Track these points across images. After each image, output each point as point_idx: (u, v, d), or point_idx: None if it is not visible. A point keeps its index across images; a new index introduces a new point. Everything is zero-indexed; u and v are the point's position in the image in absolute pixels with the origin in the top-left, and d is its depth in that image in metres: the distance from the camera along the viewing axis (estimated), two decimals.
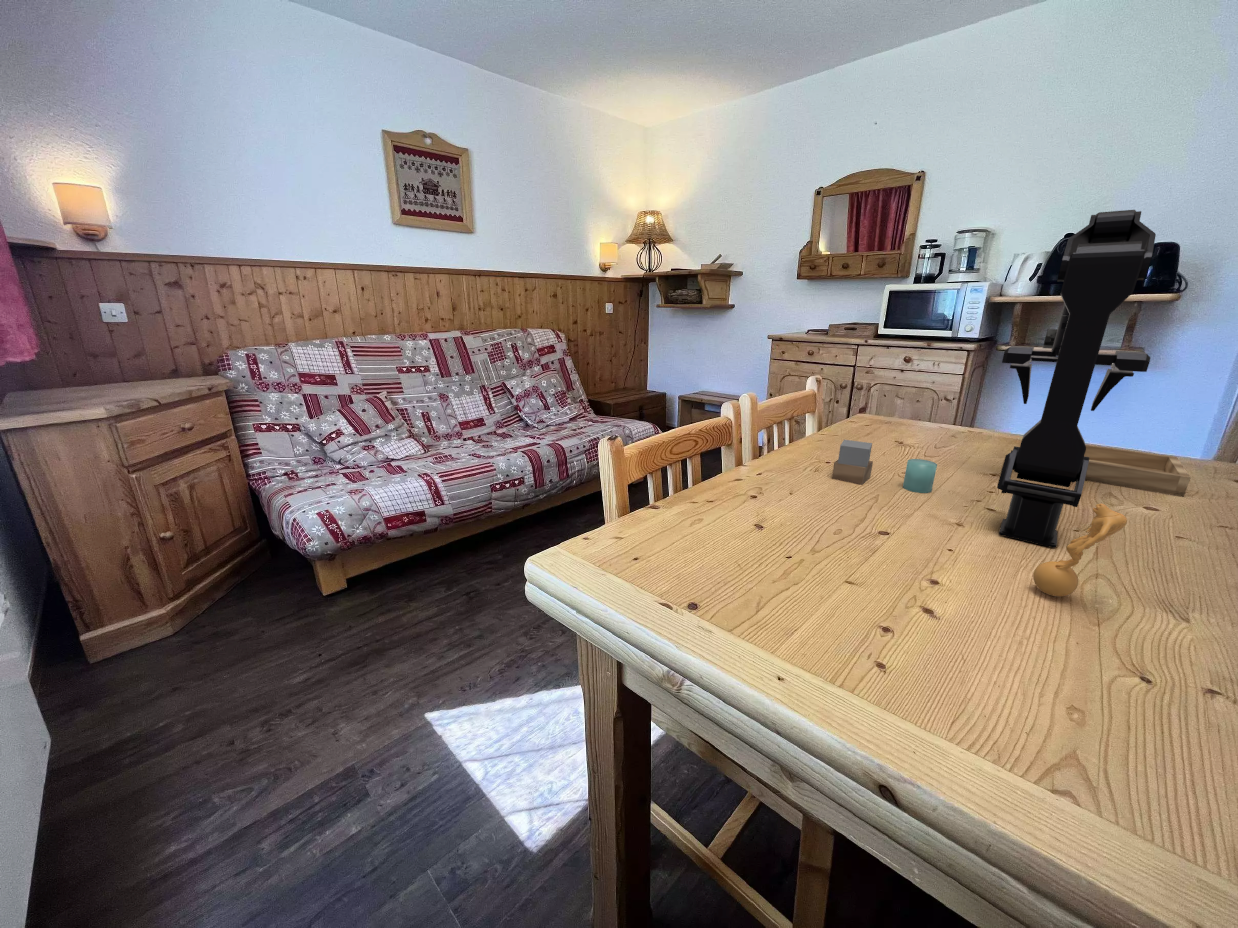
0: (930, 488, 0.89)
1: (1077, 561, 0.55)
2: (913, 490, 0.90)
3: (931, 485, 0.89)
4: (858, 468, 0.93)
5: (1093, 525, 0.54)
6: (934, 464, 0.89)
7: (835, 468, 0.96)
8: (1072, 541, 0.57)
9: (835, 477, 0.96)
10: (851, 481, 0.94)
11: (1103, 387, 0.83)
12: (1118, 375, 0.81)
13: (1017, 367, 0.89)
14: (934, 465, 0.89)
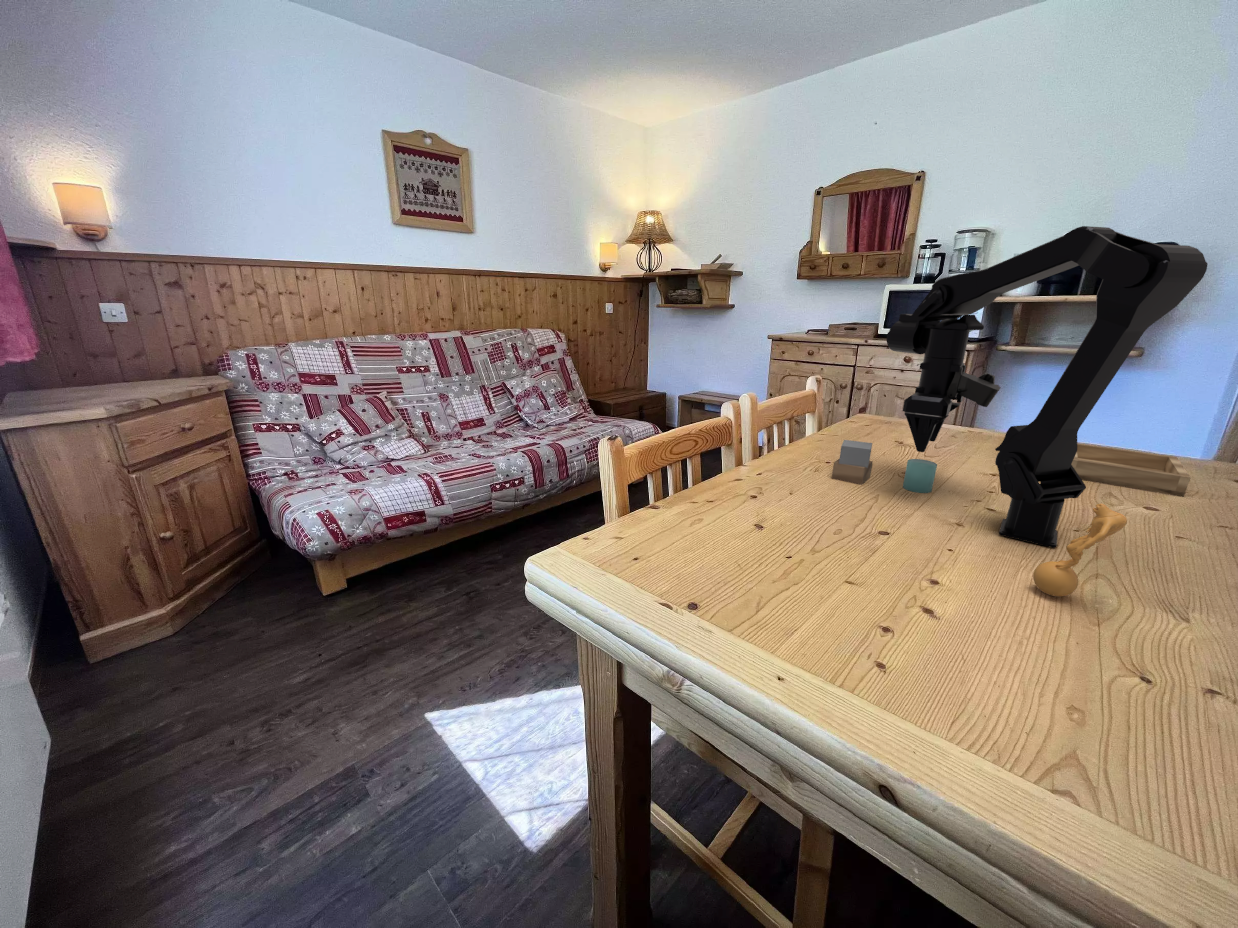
0: (930, 488, 0.89)
1: (1077, 561, 0.55)
2: (913, 490, 0.90)
3: (931, 485, 0.89)
4: (858, 468, 0.93)
5: (1093, 525, 0.54)
6: (934, 464, 0.89)
7: (835, 468, 0.96)
8: (1072, 541, 0.57)
9: (835, 477, 0.96)
10: (851, 481, 0.94)
11: None
12: None
13: None
14: (934, 465, 0.89)
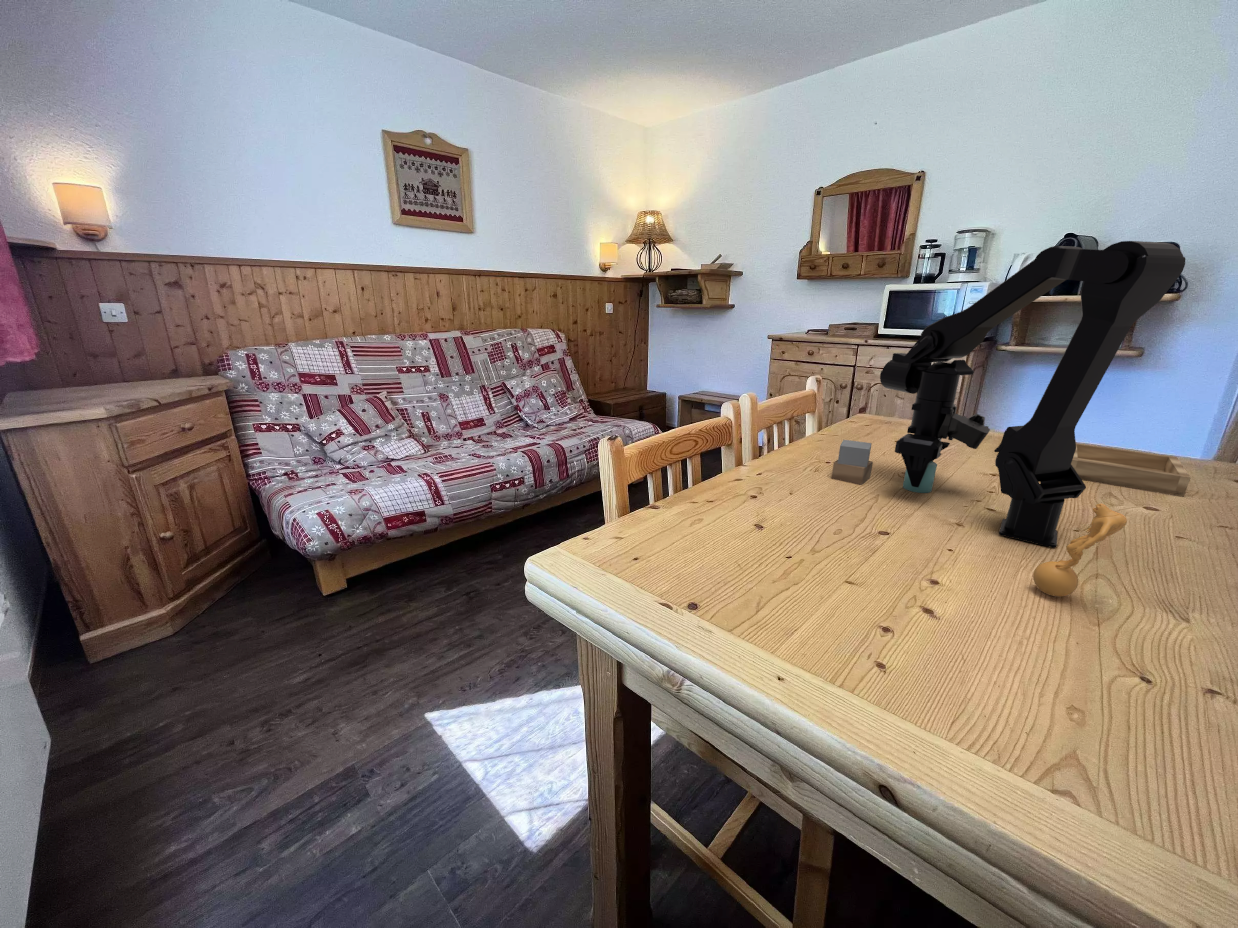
0: (930, 487, 0.89)
1: (1077, 561, 0.55)
2: (913, 490, 0.90)
3: (931, 485, 0.89)
4: (857, 468, 0.93)
5: (1093, 525, 0.54)
6: (934, 464, 0.89)
7: (835, 468, 0.96)
8: (1072, 541, 0.57)
9: (835, 477, 0.96)
10: (850, 481, 0.94)
11: None
12: None
13: None
14: (934, 465, 0.89)
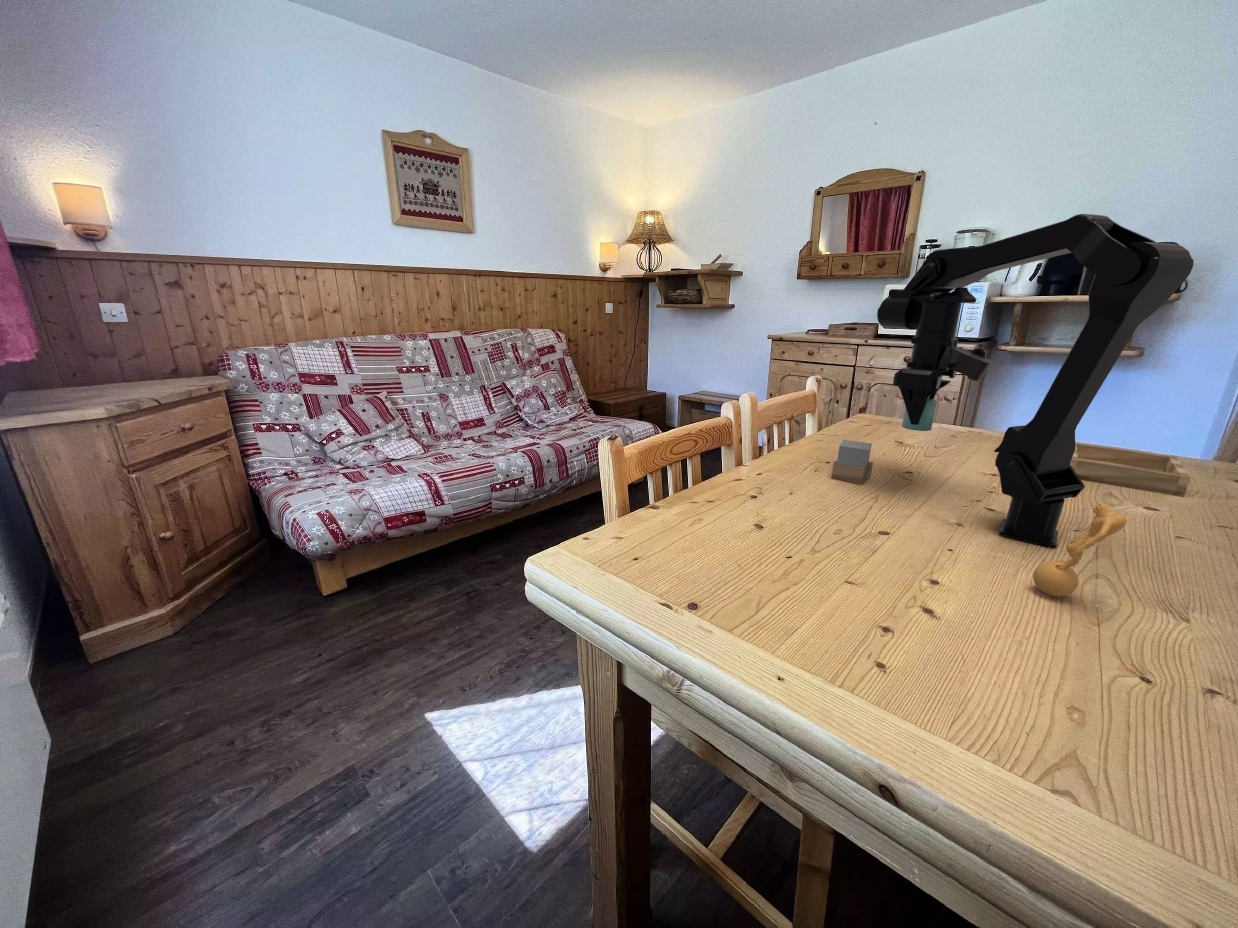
0: (930, 425, 0.87)
1: (1077, 561, 0.55)
2: (912, 428, 0.87)
3: (931, 423, 0.87)
4: (857, 469, 0.93)
5: (1093, 525, 0.54)
6: (934, 401, 0.87)
7: (834, 468, 0.96)
8: (1072, 541, 0.57)
9: (834, 477, 0.96)
10: (850, 481, 0.94)
11: None
12: None
13: None
14: (934, 401, 0.86)
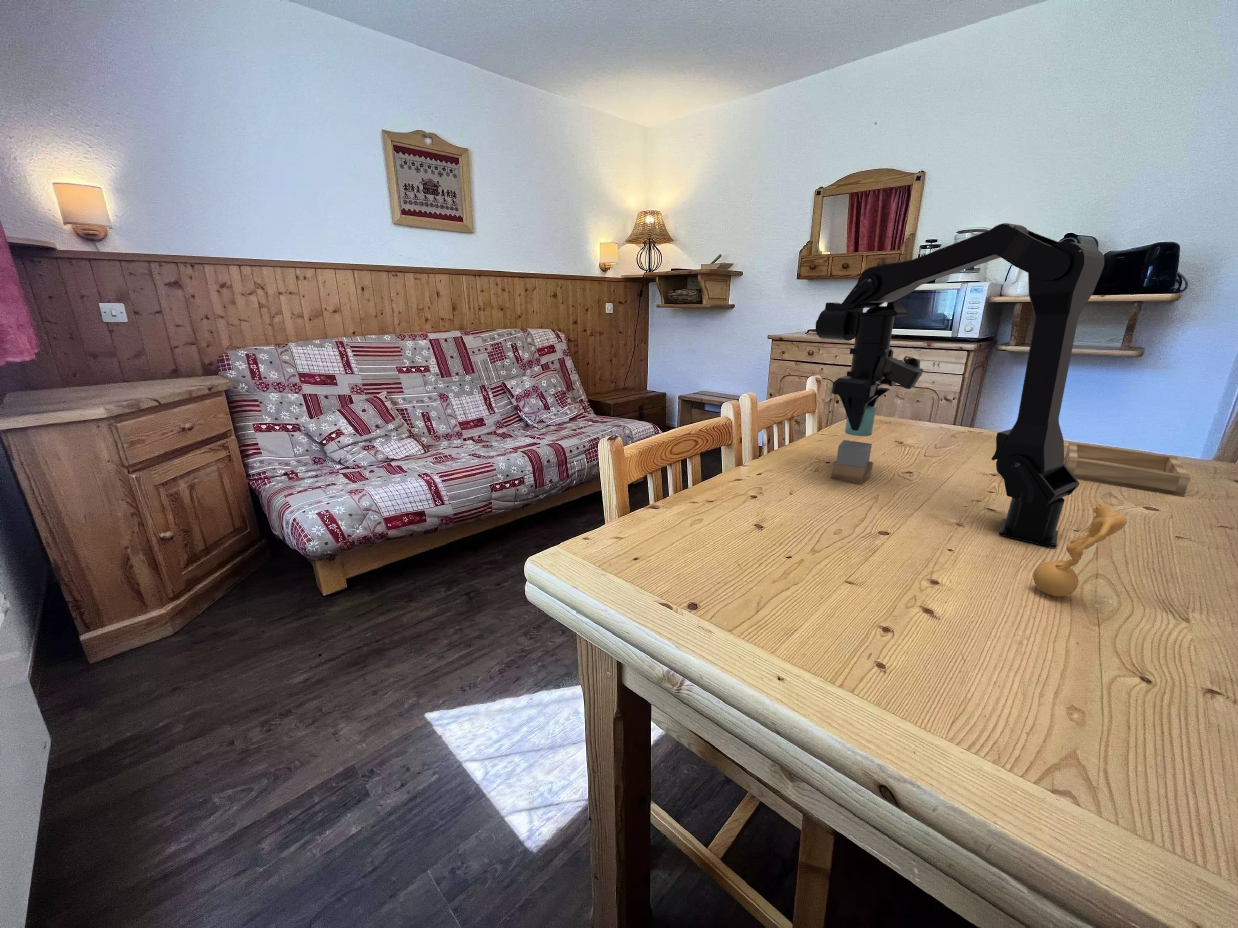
0: (870, 431, 0.92)
1: (1077, 561, 0.55)
2: (853, 433, 0.92)
3: (870, 428, 0.92)
4: (857, 469, 0.93)
5: (1093, 525, 0.54)
6: (873, 408, 0.92)
7: (834, 468, 0.96)
8: (1072, 541, 0.57)
9: (834, 477, 0.96)
10: (850, 482, 0.94)
11: None
12: None
13: None
14: (873, 408, 0.91)
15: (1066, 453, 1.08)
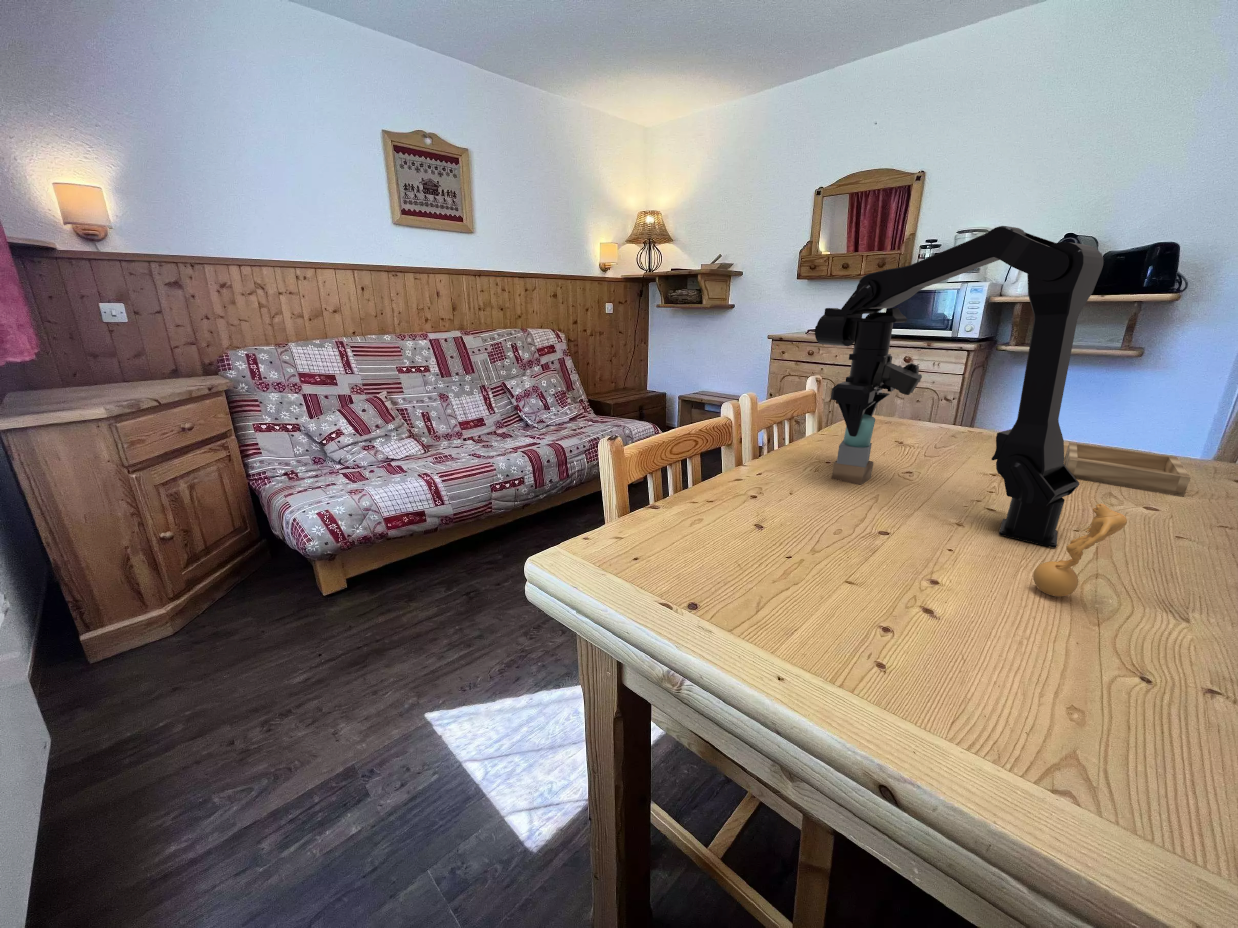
0: (868, 442, 0.92)
1: (1077, 561, 0.55)
2: (851, 444, 0.93)
3: (869, 439, 0.92)
4: (857, 468, 0.93)
5: (1093, 525, 0.54)
6: (872, 419, 0.91)
7: (834, 468, 0.96)
8: (1072, 541, 0.57)
9: (834, 477, 0.96)
10: (850, 481, 0.94)
11: None
12: None
13: None
14: (872, 420, 0.91)
15: (1066, 453, 1.08)
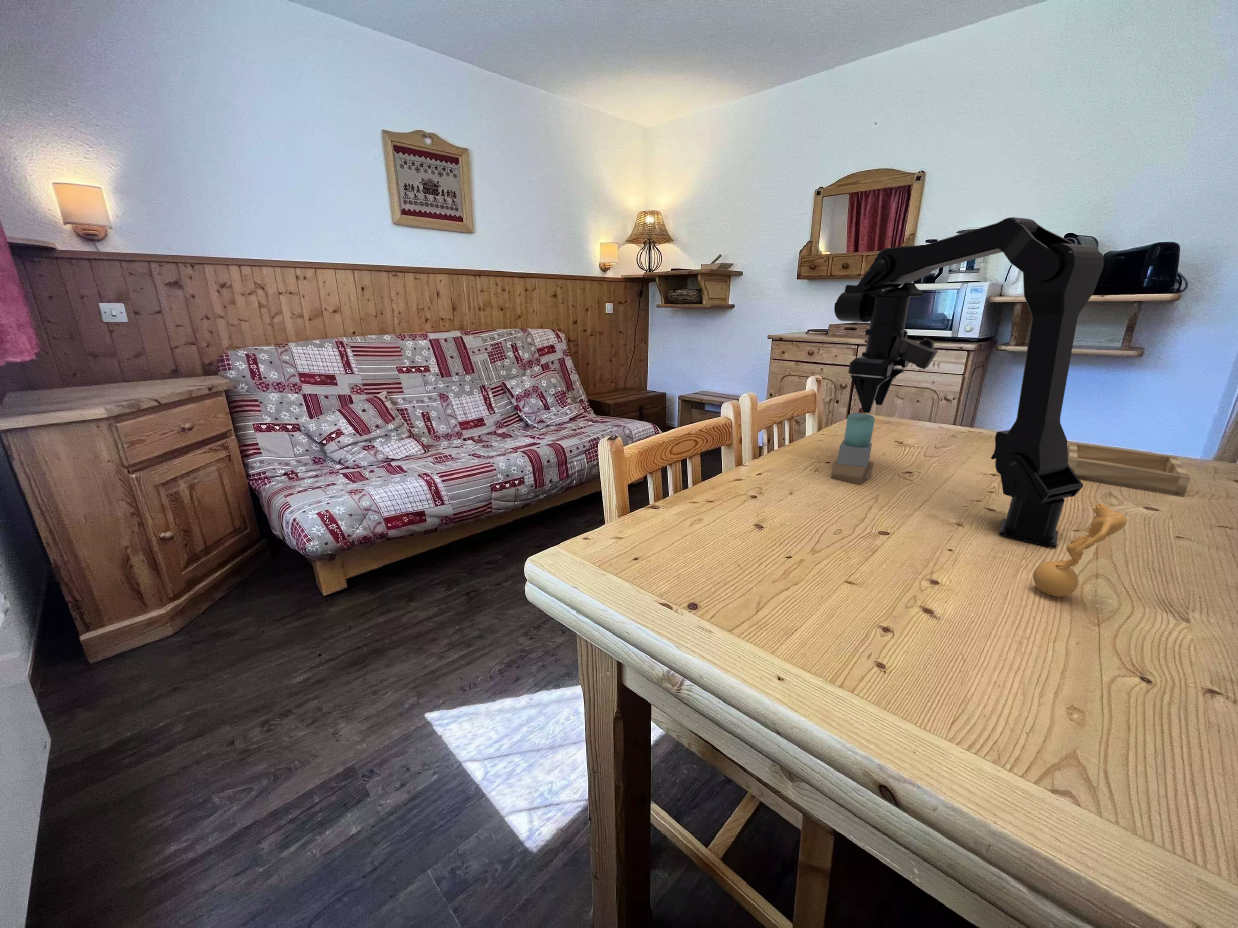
0: (869, 441, 0.93)
1: (1077, 561, 0.55)
2: (854, 445, 0.93)
3: (870, 438, 0.93)
4: (856, 468, 0.93)
5: (1093, 525, 0.54)
6: (872, 418, 0.92)
7: (834, 468, 0.96)
8: (1072, 541, 0.57)
9: (834, 477, 0.96)
10: (849, 481, 0.94)
11: None
12: None
13: None
14: (872, 419, 0.91)
15: None
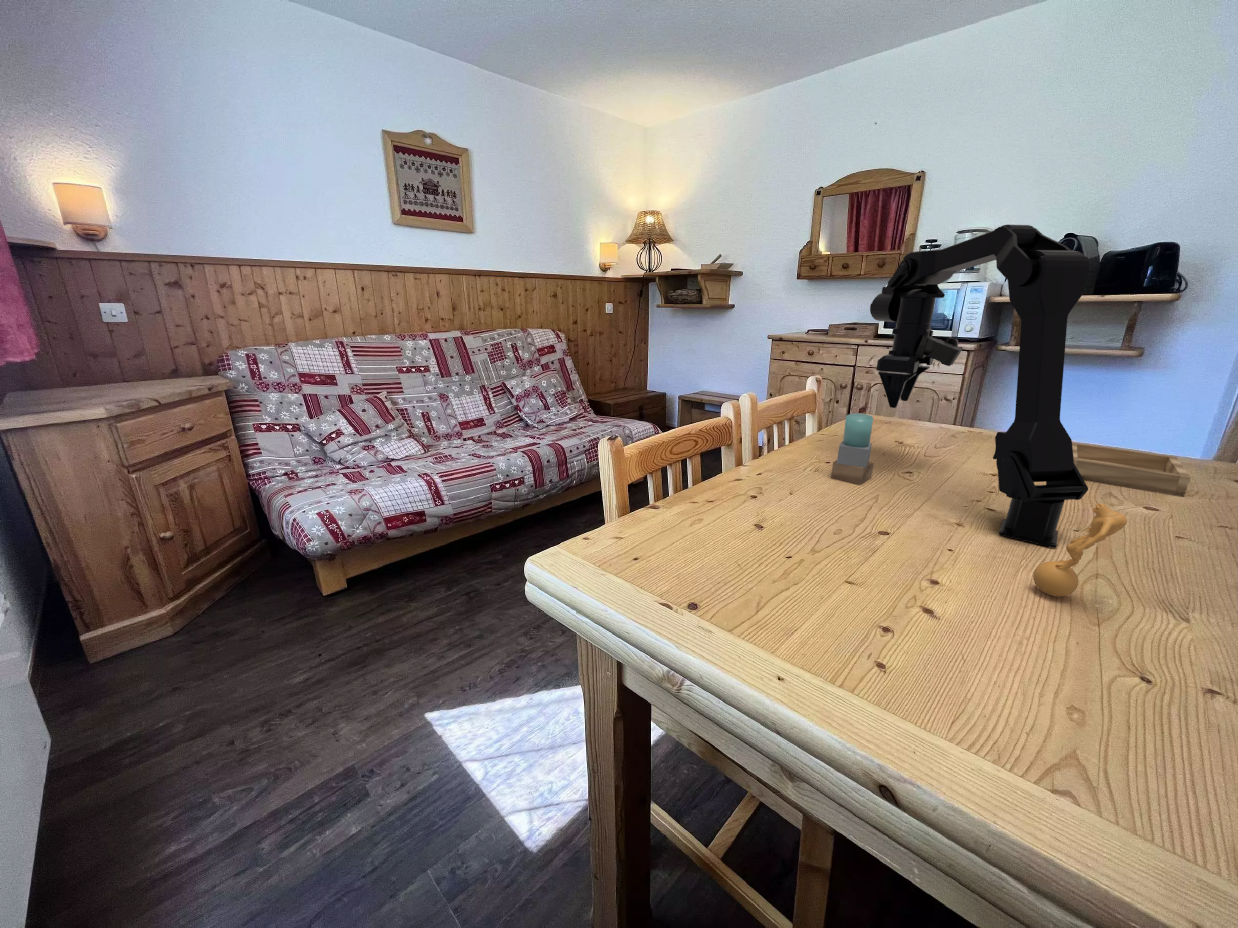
0: None
1: (1077, 561, 0.55)
2: (858, 445, 0.93)
3: (870, 437, 0.93)
4: (856, 468, 0.93)
5: (1093, 525, 0.54)
6: (869, 416, 0.92)
7: (834, 468, 0.96)
8: (1072, 541, 0.57)
9: (834, 477, 0.96)
10: (849, 481, 0.94)
11: None
12: None
13: None
14: (871, 418, 0.92)
15: None
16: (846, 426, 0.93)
